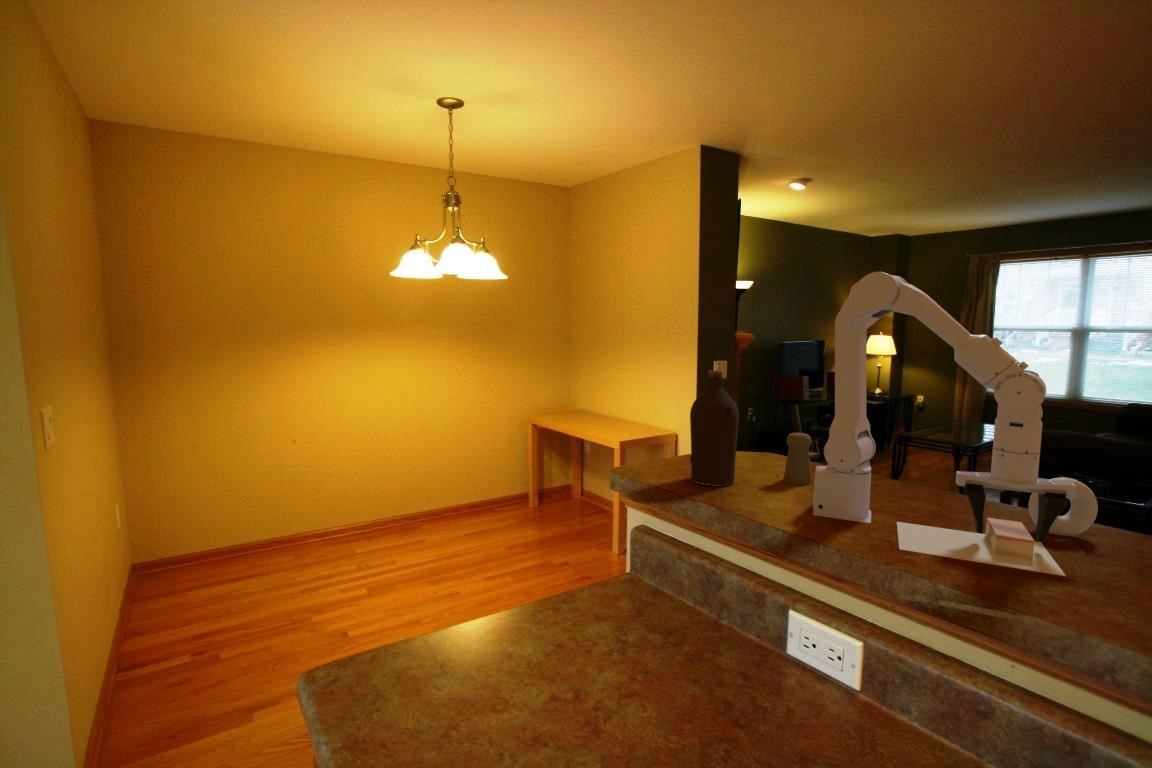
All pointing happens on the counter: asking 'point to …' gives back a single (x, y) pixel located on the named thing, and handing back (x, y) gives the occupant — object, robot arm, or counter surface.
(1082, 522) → the donut
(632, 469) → the counter surface
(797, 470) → the cork
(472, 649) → the counter surface
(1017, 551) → the pink and beige box
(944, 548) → the mat
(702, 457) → the olive oil
